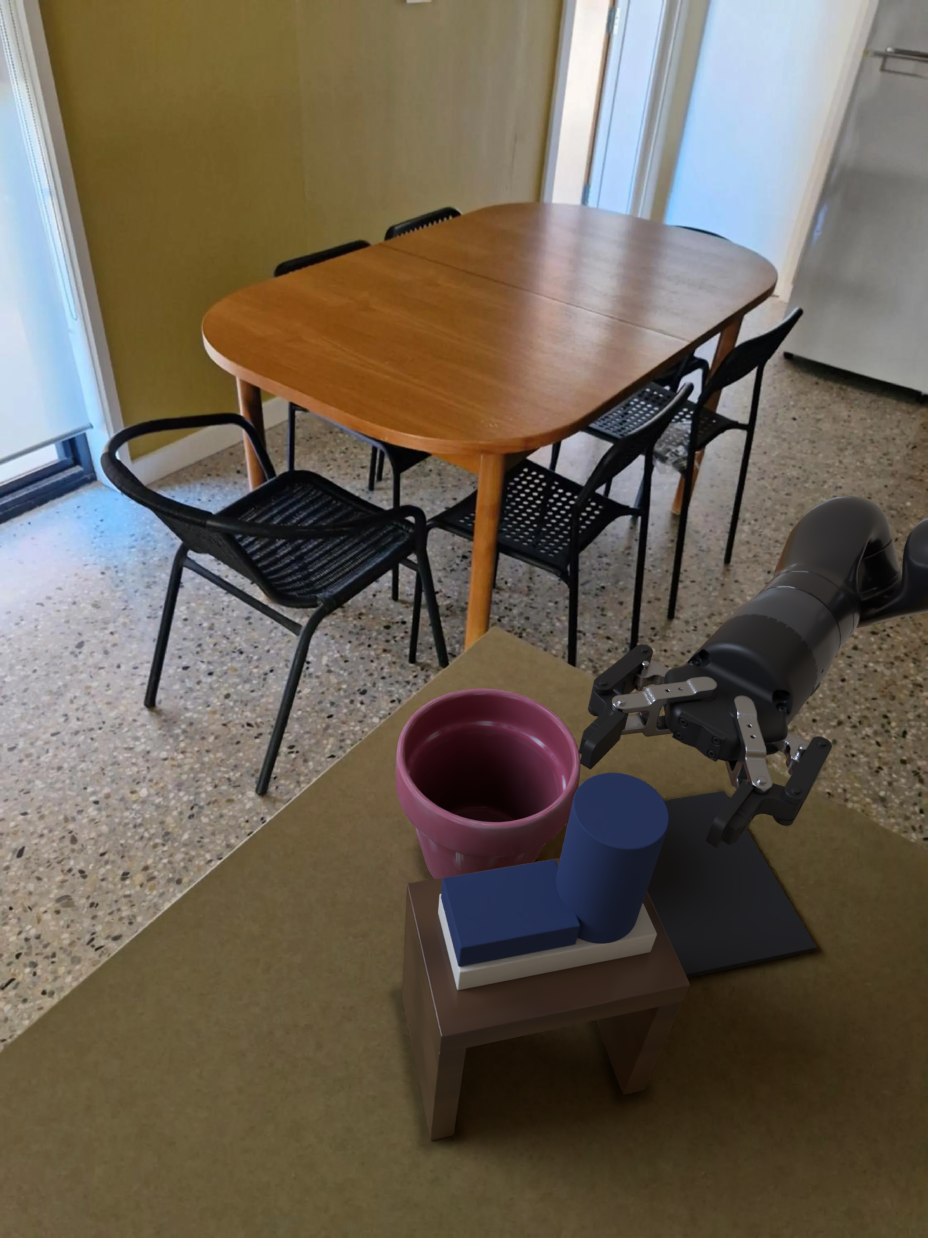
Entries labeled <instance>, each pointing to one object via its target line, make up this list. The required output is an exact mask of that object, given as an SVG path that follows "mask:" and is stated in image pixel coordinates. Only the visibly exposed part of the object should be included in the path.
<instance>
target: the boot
mask: <svg viewBox="0 0 928 1238" xmlns="http://www.w3.org/2000/svg"><path fill="white" fill-rule="evenodd" d="M664 800H665V799H664V798H663V797H662V795H661V794H660V793H659V792H658V791H657V790H656V788H654V787H653V786H652V785H650V784H649V783H647V782H646V781H645V780H642V779H640V778H638V777H636V776H633V775H630V774H626V773H622V772H603V773H599V774H596V775H593V776H591V777H589V778H587V779H586V780H584V781H583V782H582V783H581V784H580V785H578V789H577V791H576V792H575V795H574V798H573V803H572V807H571V812H570V816H569V820H568V822H567V824H566V825H567V826H566V830H565V834H564V839H563V843H562V848H561V853H560V857H559V858H560V861H559V865H557V862H556V860H555V859H556V858H552V859H553V860H550V859H546V860H547V861H544V860H540V861H541V862H538V861H535V863H529V864H524V865H518V866H512V867H506V868H500V869H494V870H488V871H482V872H476V873H470V874H464V875H458V876H452V877H446V878H443V879H442V890H441V894H440V897H439V908H438V914H439V918H440V922H441V926H442V930H443V934H444V938H445V942H446V946H447V950H448V954H449V958H450V962H451V967H452V971H453V975H454V979H455V983H456V987H457V990H462V989H467V988H472V987H477V986H482V985H487V984H492V983H497V982H502V981H507V980H512V979H517V978H522V977H527V976H533V975H538V974H543V973H548V972H553V971H558V970H563V969H568V968H573V967H578V966H583V965H588V964H593V963H598V962H603V961H608V960H613V959H618V958H623V957H628V956H633V955H638V954H643V953H648V952H651V949H652V946H653V944H654V941H655V938H656V936H657V933H656V931H655V929H654V926H653V924H652V922H651V920H650V918H649V915H648V913H647V911H646V909H645V906H644V904H643V901H644V898H645V895H646V892H647V889H648V886H649V883H650V880H651V877H652V874H653V871H654V868H655V865H656V862H657V859H658V856H659V853H660V850H661V847H662V844H663V841H664V838H665V835H666V832H667V829H668V826H669V812H668V808H667V806H666V803H665V801H664Z"/></svg>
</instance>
